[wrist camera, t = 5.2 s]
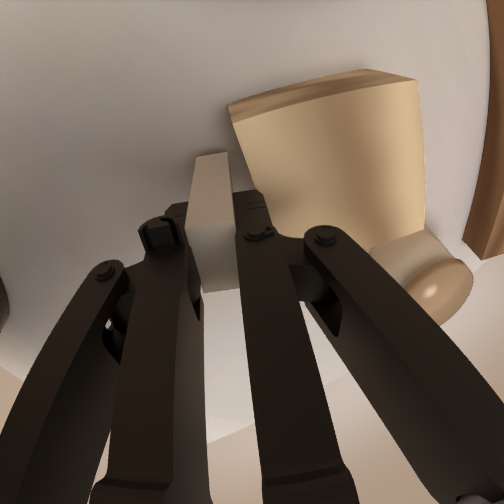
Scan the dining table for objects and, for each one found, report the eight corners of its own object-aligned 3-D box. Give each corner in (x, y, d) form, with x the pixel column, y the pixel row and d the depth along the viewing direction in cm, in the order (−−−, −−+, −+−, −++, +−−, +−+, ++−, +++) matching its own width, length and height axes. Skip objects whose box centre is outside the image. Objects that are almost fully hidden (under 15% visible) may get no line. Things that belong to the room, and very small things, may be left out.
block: (269, 224, 19) (286, 277, 15) (226, 103, 14) (232, 123, 10) (383, 188, 18) (424, 229, 14) (365, 68, 14) (416, 79, 10)
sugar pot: (359, 290, 24) (386, 346, 19) (368, 223, 20) (409, 278, 15) (423, 275, 24) (455, 322, 19) (440, 211, 20) (485, 257, 15)
